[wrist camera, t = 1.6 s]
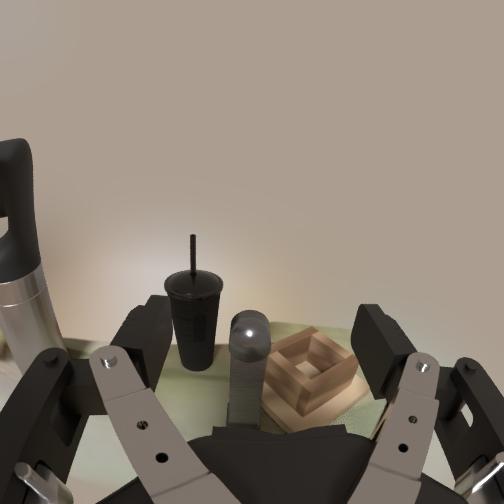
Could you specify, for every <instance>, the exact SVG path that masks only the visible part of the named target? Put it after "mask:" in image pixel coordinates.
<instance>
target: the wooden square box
mask: <svg viewBox="0 0 504 504" xmlns="http://www.w3.org/2000/svg"><path fill="white" fill-rule="evenodd" d="M358 365H359V362H358V360H357V358H356V356H354V355H353V354H351V353H350V352H348V351H347V350H346V349H344V348H343V347H341V346H340V345H338V344H337V343H335V342H334V341H332V340H331V339H329V338H328V337H327V336H325V335H324V334H322V333H321V332H319V331H318V330H316V329H315V328H314V327H310V328H307V329H305V330H303V331H301V332H299V333H296V334H294V335H292V336H290V337H287V338H285V339H283V340H281V341H278V342H276V343H274V344H271V351H270V353H269V355H268V356H267V364H266V371H265V378H264V385H263V392H262V399H261V407H262V408H263V409H264V410H265V411H266V412H267V413H268V414H269V415H270V416H271V418H272V419H273V420H274V421H275V422H276V423H277V424H278V425H279V426H280V427H281V428H282V429H283V430H285V431H286V432H287V433H288V434H289V433H293V432H297V431H301V430H305V429H308V428H312V427H319V426H326V425H328V424H329V423H331V422H332V421H333V420H335V419H336V418H337V417H339V416H340V415H341V414H343V413H344V412H345V411H347V410H348V409H349V408H350V407H352V406H353V405H354V404H355V403H357V402H358V401H359V400H360V399H362V398H363V397H364V396H365V395H366V394H368V393H369V391H370V387H369V385H368V383H367V382H365V381H364V380H362V379H361V378H359V377H358V376H357V375H355V373H356V371H357V368H358Z"/></svg>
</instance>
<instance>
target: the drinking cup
mask: <svg viewBox="0 0 504 504" xmlns="http://www.w3.org/2000/svg"><path fill="white" fill-rule="evenodd" d="M190 261H191V262H190V263H191V270H185V271H181V272H177V273H174V274H172V275H171V276H169V277H168V278H167V279H166V280H165V283H164V288H165V291H166V292H167V294H168V296H169V297H170V302H171V314H172V321H173V325H174V330H175V335H176V339H177V345H178V349H179V354H180V358H181V362H182V365H183V366H184V367H185V368H187V369H188V370H191V371H203V370H206V369H207V368H209V367H210V366H211V364H212V362H213V353H214V344H215V335H216V326H217V317H218V308H219V300H220V292H221V291H222V289H223V281H222V279H221V278H220V277H219V276H217V275H216V274H213V273H211V272H208V271H202V270H196V235H194V234H192V235H190Z"/></svg>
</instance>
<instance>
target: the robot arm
mask: <svg viewBox="0 0 504 504" xmlns="http://www.w3.org/2000/svg"><path fill="white" fill-rule="evenodd" d="M33 197H34V195H33V162H32V154H31V149H30V146H29V144H28V142H27V141H26V140H25V139H22V138H18V139H11V140H6V141H1V142H0V218H2V217H7V216H8V231H7V233H6V234H5V235H4V236H3V237H1V238H0V327H1V330H2V332H3V335H4V337H5V339H6V342H7V344H8V346H9V348H10V351H11V353H12V355H13V357H14V359H15V361H16V363H17V365H18V367H19V369H20V371H21V373H22V375H23V377H22V378H21V380H20V381H19V383H18V385H17V386H16V388H15V389H14V391H13V392H12V394H11V396H10V397H9V399H8V401H7V402H6V404H5V406H4V407H3V409H2V411H1V412H0V504H73V496H72V493H71V491H70V490H69V488H68V487H67V486H66V481H67V478H68V475H69V472H70V469H71V466H72V463H73V460H74V457H75V454H76V451H77V448H78V445H79V442H80V439H81V437H82V434H83V431H84V428H85V426H86V423H87V420H88V418H89V415H109V418H110V420H111V422H112V425H113V427H114V429H115V431H116V434H117V436H118V438H119V440H120V442H121V444H122V446H123V448H124V450H125V452H126V454H127V456H128V458H129V460H130V462H131V464H132V466H133V468H134V470H135V471H136V473H137V475H138V476H137V477H136V478H135V479H133V480H132V481H130V482H129V483H127V484H126V485H124V486H123V487H121V488H120V489H118V490H117V491H115V492H113V493H112V494H110V495H109V496H107V497H106V498H104V499H103V500H101V501H99V502H97V503H96V504H504V397H503V396H502V394H501V393H500V391H499V390H498V388H497V387H496V386H495V384H494V383H493V381H492V380H491V378H490V377H489V376H488V374H487V373H486V371H485V370H484V369H483V367H482V366H481V365H480V364H479V363H478V362H477V361H475V360H473V359H471V358H466V357H463V358H460V359H458V360H457V362H456V364H455V366H454V368H451V367H441V366H439V363H438V361H437V360H436V359H435V358H434V357H432V356H431V355H429V354H426V353H421V352H417V351H416V349H415V347H414V346H413V344H412V343H411V342H410V340H409V339H408V337H407V336H406V335H405V333H404V332H403V330H402V329H401V328H400V326H399V325H398V323H397V322H396V321H395V320H394V319H392V318H391V317H390V316H388V315H385V314H384V312H383V311H382V310H381V308H380V307H379V306H378V304H361V305H360V306H359V308H358V311H357V315H356V319H355V322H354V326H353V329H352V333H351V346H352V349H353V351H354V353H355V355H356V358H357V360H358V362H359V364H360V367H361V369H362V371H363V373H364V376H365V378H366V380H367V383H368V385H369V387H370V390H371V392H372V394H373V397H374V399H375V400H377V399H384V398H386V400H387V402H386V404H385V406H384V408H383V410H382V412H381V415H380V417H379V419H378V421H377V423H376V426H375V428H374V430H373V432H372V434H371V436H370V438H366V437H364V436H361V435H357V434H352V433H347V431H346V427H345V424H340V425H331V426H319V427H312V428H308V429H305V430H301V431H297V432H293V433H289V434H285V435H277V434H272V433H267V432H262V431H257V430H253V429H248V428H231V427H215V426H213V431H212V435H210V436H204V437H200V438H196V439H193V440H190V441H188V442H186V441H185V439H184V438H183V437H182V435H181V434H180V432H179V431H178V430H177V428H176V427H175V425H174V424H173V422H172V421H171V419H170V418H169V416H168V415H167V413H166V412H165V410H164V409H163V407H162V406H161V404H160V402H159V401H158V399H157V398H156V396H155V394H154V392H155V389H156V386H157V383H158V380H159V377H160V374H161V371H162V368H163V365H164V362H165V359H166V356H167V353H168V350H169V347H170V344H171V341H172V335H173V325H172V314H171V302H170V297H169V296H160V295H151V296H150V298H149V299H148V301H147V303H146V304H145V306H143V305H138V306H137V307H136V308H134V309H133V310H131V311H130V313H129V314H128V316H127V317H126V320H125V321H124V322H123V324H122V326H121V327H120V329H119V330H118V332H117V334H116V335H115V337H114V338H113V340H112V342H111V343H110V345H109V346H104V347H101V348H98V349H97V350H95V351H94V352H93V353H92V354H91V356H90V358H89V359H72V360H70V358H69V355H68V353H67V350H66V347H65V344H64V341H63V338H62V336H61V333H60V330H59V327H58V323H57V320H56V317H55V314H54V310H53V307H52V303H51V300H50V296H49V292H48V288H47V284H46V280H45V276H44V272H43V267H42V262H41V257H40V252H39V246H38V238H37V230H36V223H35V213H34V198H33ZM465 404H467V405H468V407H469V409H470V411H471V412H472V414H473V423H472V426H471V427H469V425H468V423H467V421H466V419H465V417H464V415H463V414H462V412H461V409H462V408H463V406H464V405H465ZM433 430H435V432H436V434H437V437H438V439H439V441H440V444H441V446H442V448H443V451H444V453H445V456H446V458H447V461H448V463H449V466H450V468H451V471H452V473H453V476H454V479H455V482H456V483H455V486H454V491H453V490H451V489H450V488H448V487H446V486H444V485H443V484H441V483H439V482H438V481H436V480H434V479H432V478H431V477H429V476H428V475H426V474H424V473H422V469H423V466H424V463H425V460H426V456H427V453H428V449H429V445H430V442H431V438H432V434H433Z"/></svg>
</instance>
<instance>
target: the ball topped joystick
mask: <svg viewBox="0 0 504 504" xmlns="http://www.w3.org/2000/svg"><path fill="white" fill-rule="evenodd" d="M229 351H230V353H231V363H230V401H229V403H228V408H227V421H226V427H231V428H248V429H253V430H257V431H260V406H261V399H262V392H263V385H264V378H265V371H266V364H267V356H268V355H269V353H270V351H271V339H270V328H269V321H268V319H267V318H266V316H265V315H264V314H262V313H260V312H258V311H254V310H245V311H242V312H240V313H238V314H236V315H235V316H234V318H233V319H232V321H231V328H230V338H229Z"/></svg>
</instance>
